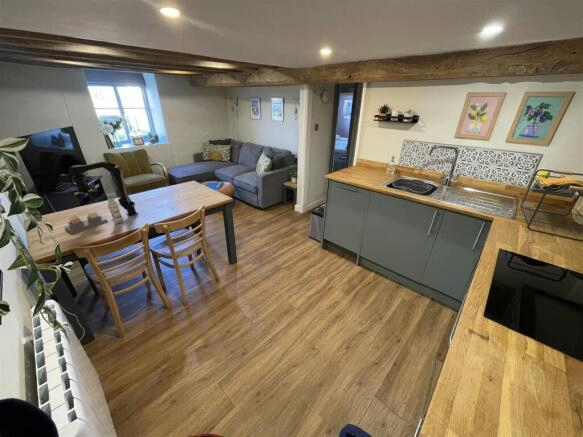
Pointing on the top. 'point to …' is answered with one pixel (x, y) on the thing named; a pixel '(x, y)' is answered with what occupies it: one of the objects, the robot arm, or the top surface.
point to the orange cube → (74, 219)
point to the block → (85, 224)
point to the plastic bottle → (115, 211)
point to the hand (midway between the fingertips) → (88, 202)
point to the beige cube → (92, 214)
